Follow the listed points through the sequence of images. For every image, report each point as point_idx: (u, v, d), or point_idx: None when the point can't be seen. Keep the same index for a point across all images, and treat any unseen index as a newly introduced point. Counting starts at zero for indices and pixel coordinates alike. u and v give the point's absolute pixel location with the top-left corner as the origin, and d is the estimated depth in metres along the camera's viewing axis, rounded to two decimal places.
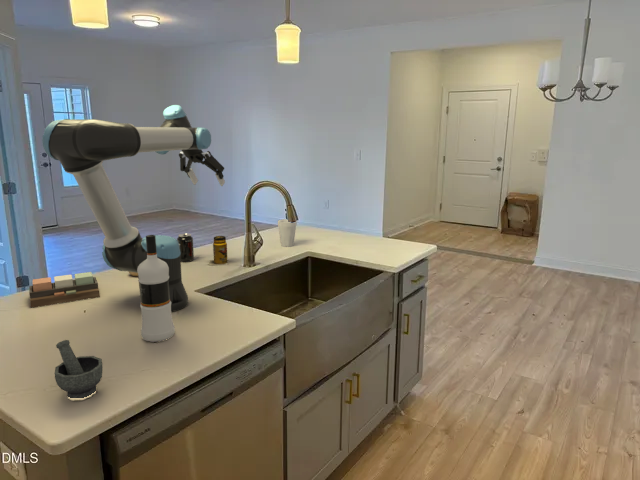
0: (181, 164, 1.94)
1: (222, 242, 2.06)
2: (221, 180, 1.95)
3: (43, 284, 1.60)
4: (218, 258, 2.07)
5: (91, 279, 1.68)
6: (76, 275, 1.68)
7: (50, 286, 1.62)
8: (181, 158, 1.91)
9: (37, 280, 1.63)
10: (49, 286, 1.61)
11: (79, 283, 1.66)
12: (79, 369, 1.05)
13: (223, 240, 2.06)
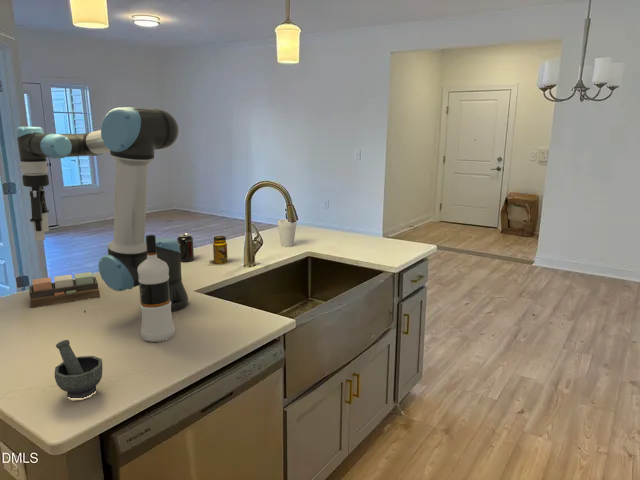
0: (40, 208, 1.53)
1: (222, 242, 2.06)
2: None
3: (43, 284, 1.60)
4: (218, 258, 2.07)
5: (91, 279, 1.68)
6: (76, 275, 1.68)
7: (50, 286, 1.62)
8: (39, 197, 1.54)
9: (37, 280, 1.63)
10: (49, 286, 1.61)
11: (79, 283, 1.66)
12: (79, 369, 1.05)
13: (223, 240, 2.06)
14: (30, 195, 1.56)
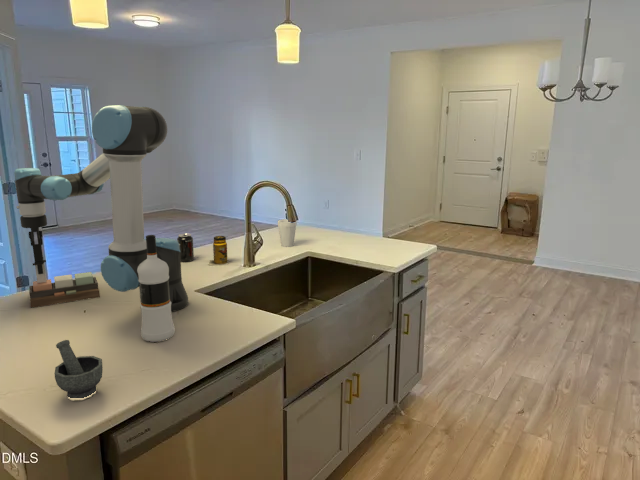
0: None
1: (222, 242, 2.06)
2: None
3: (43, 286, 1.60)
4: (218, 258, 2.07)
5: (91, 279, 1.68)
6: (76, 275, 1.68)
7: (50, 288, 1.62)
8: (40, 243, 1.56)
9: None
10: (49, 288, 1.62)
11: (79, 283, 1.66)
12: (79, 369, 1.05)
13: (223, 240, 2.06)
14: None
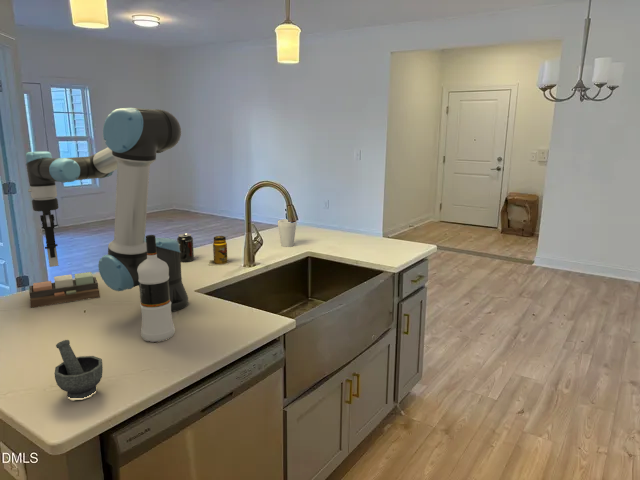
0: None
1: (222, 242, 2.06)
2: None
3: (43, 288, 1.61)
4: (218, 258, 2.07)
5: (91, 279, 1.68)
6: (76, 275, 1.68)
7: None
8: (53, 226, 1.56)
9: (37, 284, 1.63)
10: (49, 289, 1.62)
11: (79, 283, 1.66)
12: (79, 369, 1.06)
13: (223, 240, 2.06)
14: None
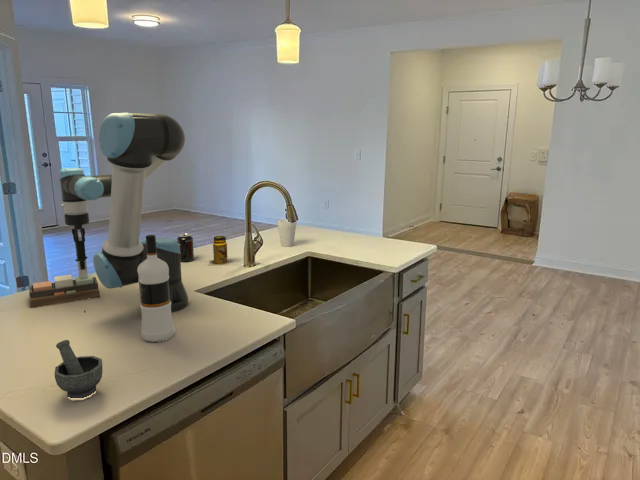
0: (84, 249, 1.64)
1: (222, 242, 2.06)
2: None
3: (43, 288, 1.61)
4: (218, 258, 2.07)
5: (91, 282, 1.68)
6: (76, 278, 1.69)
7: None
8: (84, 240, 1.62)
9: (37, 284, 1.63)
10: (49, 289, 1.62)
11: None
12: (79, 369, 1.05)
13: (223, 240, 2.06)
14: (73, 235, 1.63)
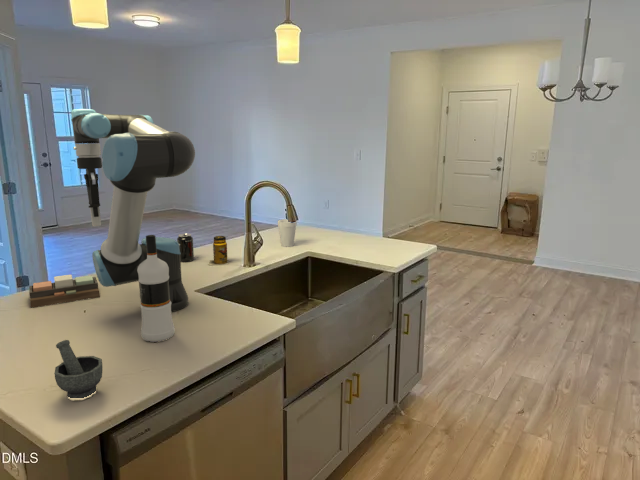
0: (98, 194, 1.58)
1: (222, 242, 2.06)
2: None
3: (43, 288, 1.61)
4: (218, 258, 2.07)
5: (91, 283, 1.68)
6: (76, 279, 1.69)
7: None
8: (97, 183, 1.57)
9: (37, 284, 1.63)
10: (49, 289, 1.62)
11: None
12: (79, 369, 1.05)
13: (223, 240, 2.06)
14: (86, 179, 1.57)
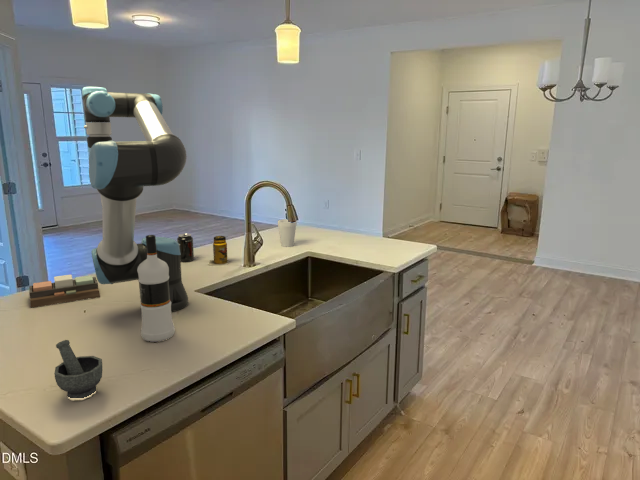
0: None
1: (222, 242, 2.06)
2: None
3: (43, 288, 1.61)
4: (218, 258, 2.07)
5: (91, 283, 1.68)
6: (76, 279, 1.69)
7: None
8: None
9: (37, 284, 1.63)
10: (49, 289, 1.62)
11: None
12: (79, 369, 1.05)
13: (223, 240, 2.06)
14: None
